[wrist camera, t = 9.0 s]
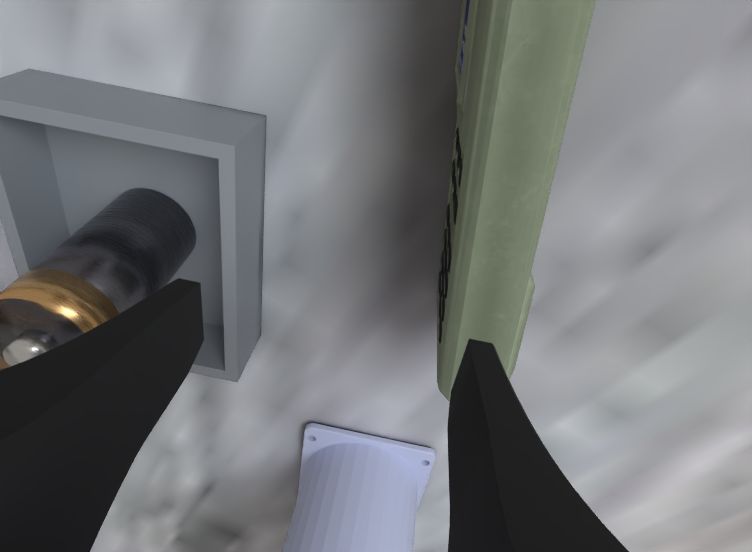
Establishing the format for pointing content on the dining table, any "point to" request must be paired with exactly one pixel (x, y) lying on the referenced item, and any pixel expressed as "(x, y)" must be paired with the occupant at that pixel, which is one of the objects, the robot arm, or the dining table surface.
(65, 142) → the cell bin
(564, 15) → the handheld radio
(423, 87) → the dining table surface
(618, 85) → the dining table surface
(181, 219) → the battery cell
